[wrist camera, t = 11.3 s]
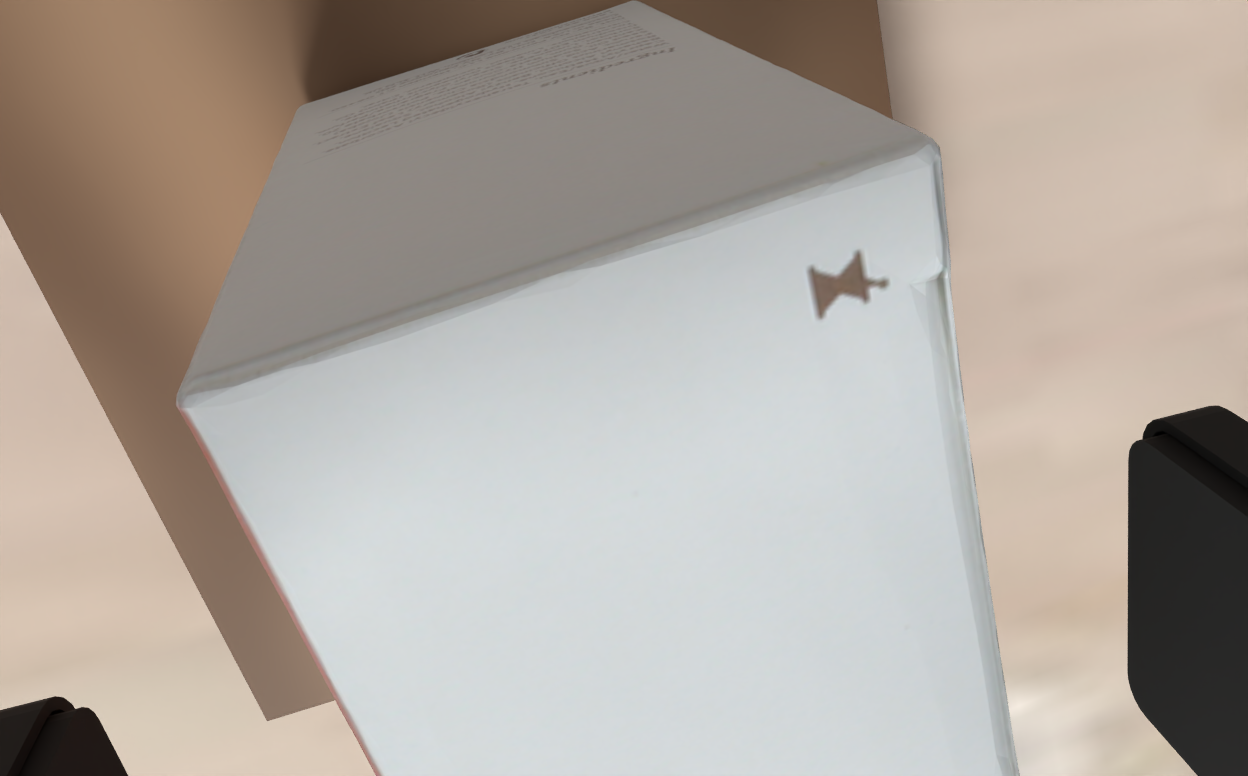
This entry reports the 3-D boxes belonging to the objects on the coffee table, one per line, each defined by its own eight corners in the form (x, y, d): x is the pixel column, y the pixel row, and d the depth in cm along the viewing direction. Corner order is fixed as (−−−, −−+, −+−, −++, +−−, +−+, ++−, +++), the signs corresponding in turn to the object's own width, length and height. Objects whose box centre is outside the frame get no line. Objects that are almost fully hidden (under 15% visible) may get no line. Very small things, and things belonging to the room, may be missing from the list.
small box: (292, 100, 16) (135, 375, 7) (642, -10, 17) (953, 111, 7) (465, 524, 20) (517, 1089, 10) (751, 428, 20) (1054, 895, 11)
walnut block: (746, -242, 20) (838, -283, 16) (855, 406, 26) (944, 511, 22) (5, -40, 19) (-123, -21, 15) (295, 576, 25) (267, 721, 21)
